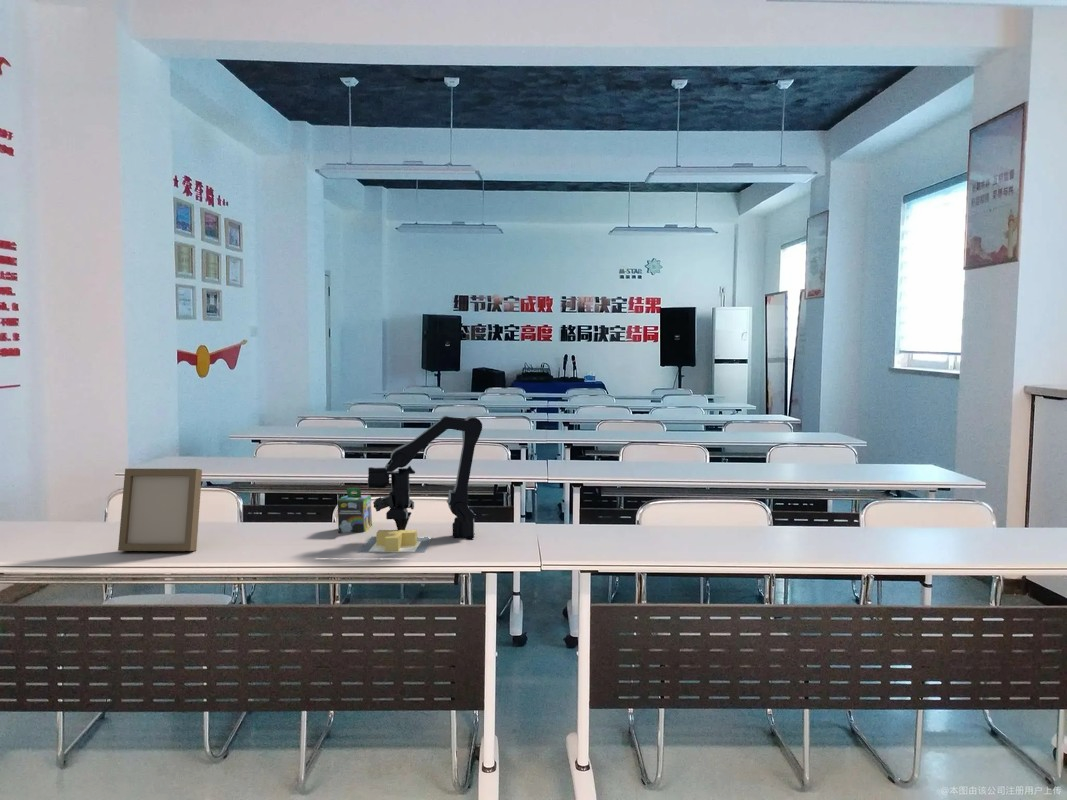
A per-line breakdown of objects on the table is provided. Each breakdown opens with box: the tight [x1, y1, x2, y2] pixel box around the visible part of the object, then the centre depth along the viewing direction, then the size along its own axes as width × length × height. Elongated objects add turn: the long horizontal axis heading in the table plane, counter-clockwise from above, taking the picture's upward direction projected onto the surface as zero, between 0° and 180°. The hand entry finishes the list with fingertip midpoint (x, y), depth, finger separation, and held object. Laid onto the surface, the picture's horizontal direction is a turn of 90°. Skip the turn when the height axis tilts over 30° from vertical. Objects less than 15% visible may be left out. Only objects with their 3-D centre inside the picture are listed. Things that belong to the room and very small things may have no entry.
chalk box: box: [337, 487, 373, 533], centre depth 275 cm, size 9×9×15 cm
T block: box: [375, 529, 418, 551], centre depth 250 cm, size 12×11×4 cm
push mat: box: [357, 536, 433, 554], centre depth 254 cm, size 20×21×1 cm
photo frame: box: [117, 468, 203, 552], centre depth 250 cm, size 15×22×25 cm
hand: (401, 535), depth 261 cm, fingers closed
